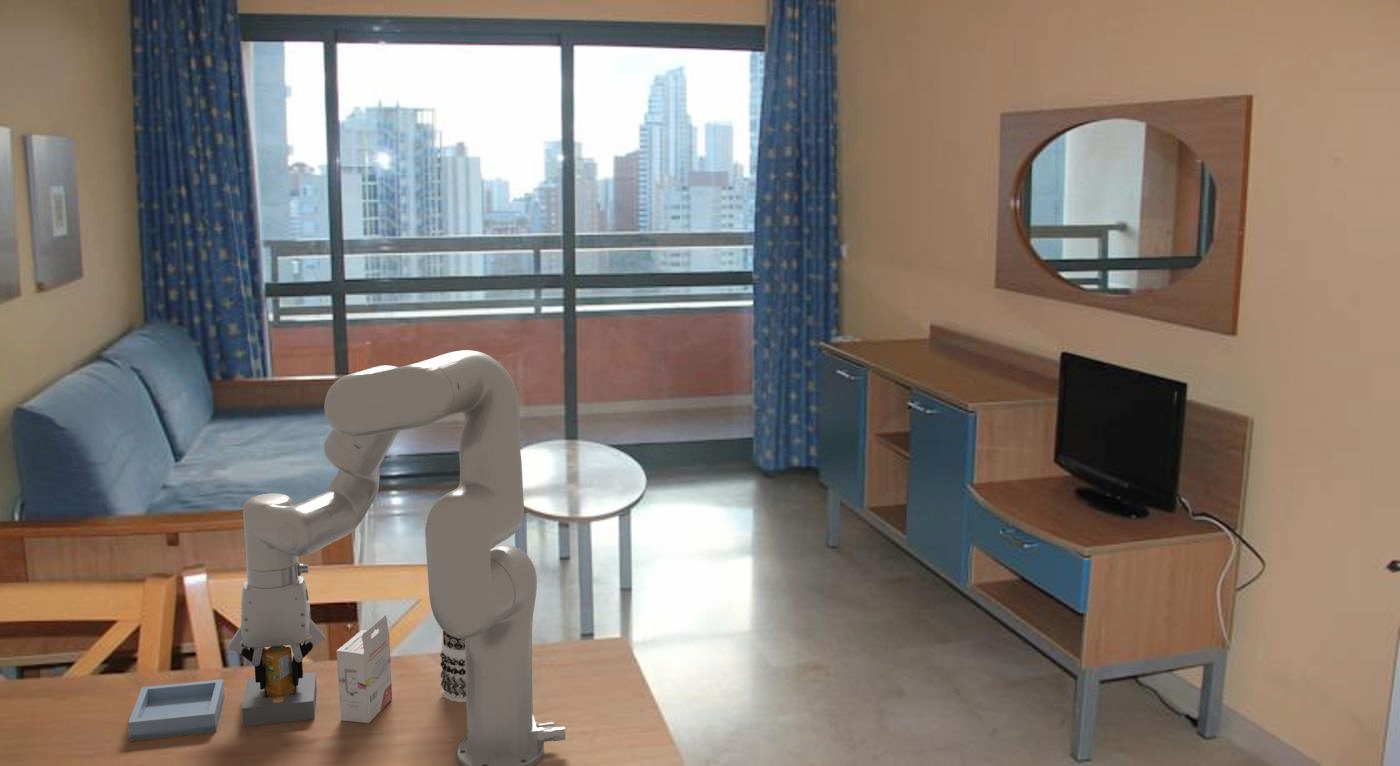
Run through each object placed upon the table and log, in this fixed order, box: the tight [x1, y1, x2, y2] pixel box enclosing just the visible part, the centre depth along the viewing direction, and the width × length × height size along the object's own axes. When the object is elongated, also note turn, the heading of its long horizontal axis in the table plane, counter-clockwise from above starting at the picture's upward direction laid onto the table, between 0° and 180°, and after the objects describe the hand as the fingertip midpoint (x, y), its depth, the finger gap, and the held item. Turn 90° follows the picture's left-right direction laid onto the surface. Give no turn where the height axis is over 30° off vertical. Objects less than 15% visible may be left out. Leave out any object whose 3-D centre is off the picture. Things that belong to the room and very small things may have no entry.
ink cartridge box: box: [336, 615, 393, 724], centre depth 189 cm, size 9×5×15 cm, turn 168°
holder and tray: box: [127, 671, 318, 741], centre depth 189 cm, size 26×12×3 cm, turn 105°
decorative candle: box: [439, 626, 466, 703], centre depth 195 cm, size 9×9×25 cm
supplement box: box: [262, 645, 295, 698], centre depth 190 cm, size 3×3×10 cm
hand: (279, 683), depth 191 cm, fingers closed on supplement box, 4 cm apart
